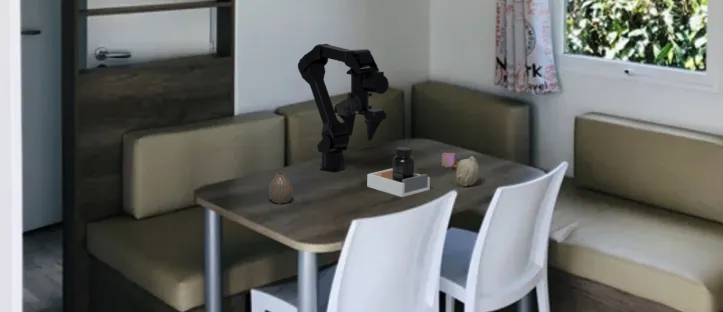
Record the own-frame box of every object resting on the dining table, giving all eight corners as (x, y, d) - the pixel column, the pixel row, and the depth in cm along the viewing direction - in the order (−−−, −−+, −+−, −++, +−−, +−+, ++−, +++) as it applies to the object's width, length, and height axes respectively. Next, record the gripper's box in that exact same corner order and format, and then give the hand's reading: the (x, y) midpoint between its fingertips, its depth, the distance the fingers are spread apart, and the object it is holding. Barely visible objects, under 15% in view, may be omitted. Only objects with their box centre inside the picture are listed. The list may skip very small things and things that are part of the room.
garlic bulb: (467, 188, 308) (473, 158, 309) (484, 190, 301) (490, 159, 302) (444, 183, 303) (450, 152, 304) (461, 185, 296) (466, 153, 297)
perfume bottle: (435, 170, 323) (435, 157, 321) (443, 161, 334) (443, 148, 333) (470, 173, 319) (471, 159, 318) (477, 164, 330) (477, 151, 329)
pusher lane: (367, 186, 301) (367, 171, 300) (394, 179, 309) (395, 164, 308) (402, 197, 290) (402, 180, 289) (429, 189, 298) (429, 174, 297)
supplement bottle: (418, 188, 296) (419, 149, 293) (398, 190, 293) (399, 152, 290) (407, 182, 302) (408, 145, 299) (388, 184, 299) (388, 147, 296)
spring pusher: (373, 182, 301) (374, 171, 300) (394, 177, 307) (394, 166, 306) (381, 184, 299) (381, 173, 298) (401, 179, 304) (401, 168, 304)
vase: (279, 197, 289) (278, 169, 287) (297, 201, 285) (297, 172, 283) (264, 203, 283) (263, 174, 281) (282, 207, 280) (282, 177, 278)
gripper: (321, 88, 306) (321, 136, 310) (361, 96, 293) (360, 147, 297) (347, 84, 313) (347, 131, 317) (387, 92, 300) (387, 141, 304)
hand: (359, 138), depth 308 cm, fingers open, 9 cm apart
